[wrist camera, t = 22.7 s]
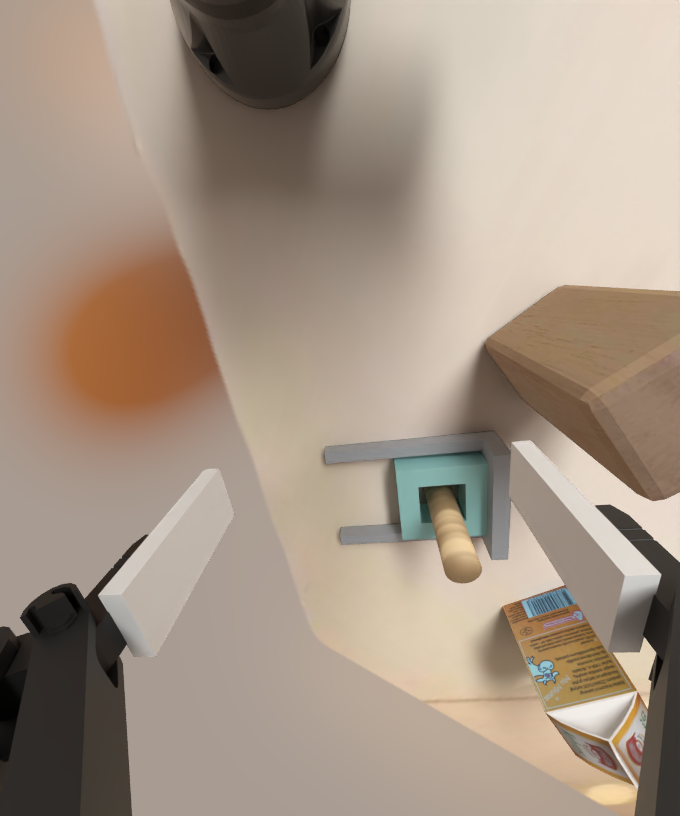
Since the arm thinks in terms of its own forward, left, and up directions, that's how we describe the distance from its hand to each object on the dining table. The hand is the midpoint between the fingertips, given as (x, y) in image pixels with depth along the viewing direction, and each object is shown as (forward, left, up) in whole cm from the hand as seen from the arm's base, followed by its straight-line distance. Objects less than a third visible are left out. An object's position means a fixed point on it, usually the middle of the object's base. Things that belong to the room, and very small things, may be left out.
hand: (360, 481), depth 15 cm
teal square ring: (+20, +8, -27) cm, 34 cm away
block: (+2, +20, -27) cm, 34 cm away
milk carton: (+47, +24, -27) cm, 59 cm away
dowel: (+20, +8, -27) cm, 34 cm away
